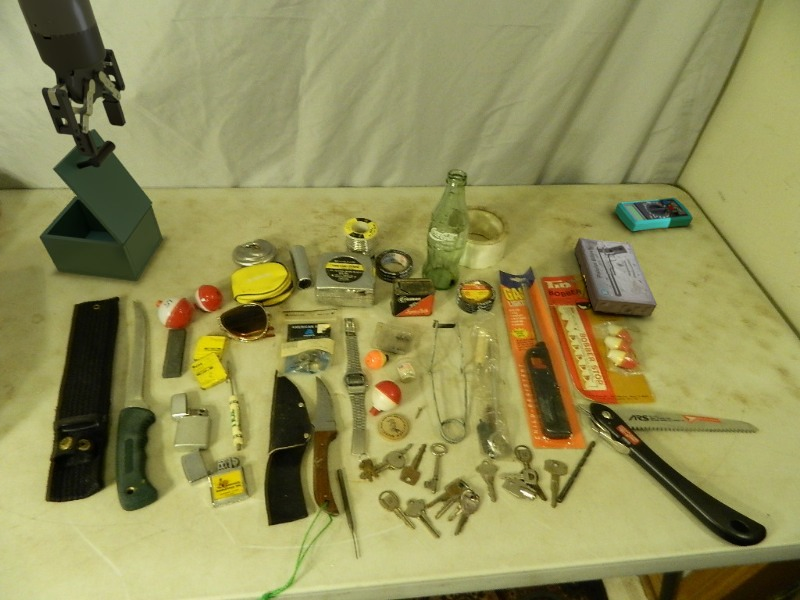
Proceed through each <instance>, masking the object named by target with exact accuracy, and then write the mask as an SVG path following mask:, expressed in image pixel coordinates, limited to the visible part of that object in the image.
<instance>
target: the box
mask: <svg viewBox="0 0 800 600" xmlns="http://www.w3.org/2000/svg"><path fill="white" fill-rule="evenodd" d="M574 247H575V248H574V252H575V255H576V259H577V260H578V261H577V262H578V264H579V266H580V271H581V272H580V273H581V276H582V275H585V279H586V284H587V288H586V290H587V294H588V298H589V300H590V304H591V306H592V308H593V310H592V311H597V312H602V313H605V314H607V313H611V314H615V315H618V314H619V315H627V316H630V315H631V316H639V317H646V318H649V317H651V316H652V314H653V312H654V311H655V309H656V308H657V305H658V304H657V301H656V298H655V296H654V294H653V292H652V290H651V287H650V285H649V283H648V281H647V277H646V275H645V273H644V271H643V269H642V266H641V264H640V262H639V259H638V257H637V255H636V252H635V250H634V248H633V245H632V243H631V242H621V241H612V240H601V239H600V240H599V239H593V238H584V237H579V238H578V239H577V241H576V244H575V246H574ZM586 284H585V285H586Z"/></svg>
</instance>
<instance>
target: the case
mask: <svg viewBox="0 0 800 600" xmlns="http://www.w3.org/2000/svg"><path fill="white" fill-rule="evenodd" d="M38 238H39V240H40V241H41V243H42V245H43V246H44V248H45V250H46V252H47V254H48V256H49V257H50V259H51V261H52V263H53V265H54V266H55V268H56V270H57V272H59V273H66V274H74V275H83V276H89V277H90V276H91V277H99V278H109V279H116V280H125V281H133V282H138V280H139V279H140V277H141V275H142V274H143V272H144V270H145V269H146V267H147V266H148V264H149V263H150V261H151V260H152V258H153V256H154V255H155V253H156V251H157V250H158V248H159V247H160V245H161V244H162V242H163V241H164V237H163V235H162V232H161V228H160V226H159V222H158V220H157V216H156V214H155V211H154V208H153V204H151V206H150V207H149V209H148V210H147V211H146V213H145V214H144V216H143V217H142V219H141V220H140V221H139V223H138V224H137V226H136V227H135V229H134V230H133V231H132V233H131V234H130V236H129V237H128V239H127V240H126V241H125V243H124V244H122V245H120V244H119V243H118V242H117V241H116V239H115V238H114V237H113V236H112V235H111V234H110V233H109V232H108V230H107V229H106V228H105V227H104V226H103V225H102V224H101V223H100V222H99V220H98V219H97V218H96V217H95V216H94V215H93V214H92V213H91V211H90V210H89V209H88V208H87V207H86V206H85V205H84V204H83V202H82V201H81V200H80V199H79V198H78V197H77V196H76V195H75V196H73V198H72V199H71V200H70V201H69V202H68V203H67V205H65V207H64V208H62V210H61V211H60V212H59V214H58V215H56V217H55V218H54V219H53V220H52V221H51V222H50V224H49V225H48V226H47V227H46V228H45V230H44V231H43V232H41V234H40V235H39V236H38Z"/></svg>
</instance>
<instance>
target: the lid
mask: <svg viewBox="0 0 800 600" xmlns="http://www.w3.org/2000/svg"><path fill="white" fill-rule="evenodd" d="M90 131H91V134H92V137H93V139H94V142H95V145H96V147H97V150H98V154H97V155H96V156H95V157H90V156H84V155H82V154H81V153H80V152H79V151H78V148H77V146H76V145H75V146H74V147H72V149H71V150H70V151H68V152H67V154H66V155H64V157H63V158H62V159H61V160H59V162H58V163H56V164H55V166H54V167H53V168H52V170H53V171H54V172H55V174H57V176H58V177H59V178H60V180H61V181H63V182H64V184H65V185H66V186H67V187H68V188H69V189H70V190H71V192H72V193H73V194H74V195H75V196H77V197H78V198H79V199H80V200H81V201H82V202H83V204H84V205H85V206H86V207H87V208H88V209H89V210H90V211H91V213H92V214H93V215H94V216H95V217H96V218H97V219H98V220H99V222H100V223H101V224H102V225H103V226H104V227H105V228H106V229H107V230H108V232H109V233H110V234H111V235H112V236H113V237H114V238H115V239H116V241H117V242H118V243H119V244H120V245H122V244H124V243H125V241H126V240H127V239H128V237H129V236H130V234H131V233H132V231H133V230H134V229H135V227H136V226H137V224H138V223H139V221H140V220H141V219H142V217H143V216H144V214H145V213H146V211H147V210H148V209H149V207H150V206H151V205H153V201H152V200H151V199H150V197H149V196H148V195H147V193H146V192H145V191H144V190H143V188H142V187H141V186H140V185H139V184H138V182H137V181H136V180H135V178H134V177H133V175H131V173H130V172H129V171H128V170H127V168H126V167H125V166H124V164H123V163H122V162H121V161H120V159H119V157H117V156H116V154H115V152H114V151H115V150H116V148H117V147H116V144H115V143H114V142H113V141H112V140H104V138H103V137H102V136H101V135H100V133H99V132H98V131H97V130H96V129H95V128H93V129H91V130H90Z"/></svg>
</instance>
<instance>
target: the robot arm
mask: <svg viewBox="0 0 800 600" xmlns="http://www.w3.org/2000/svg"><path fill="white" fill-rule="evenodd" d="M17 3H18V5H19V9H20V12H21V14H22V16H23V18H24V21H25V23H26V25H27V29H28V30H29V33H30V35H31V37H32V40H33V43H34V45H35V47H36V50H37V52H38V55H39V57H40V59H41V62H42V63H43V64H45V65H46V66H47V67H49V69H51V70H52V71H53V73H54V75H55V80H56V82H55V83H56V84H55V85H54V86H53V87H47V86H46V87H45V86H44V87H42V88H41V94H42V97H43V100H44V103H45V105H46V108H47V110H48V113H49V116H50V118H51V121H52V123H53V126H54V129H55V131H56V133H57V134H59V135H67V136H72V138H73V141H74V143H75V146H77V148H78V151H79V152H80V153H81V154H82V155H84V156H90V157H95V156H96V155H97V154H98V150H97V147H96V145H95V142H94V139H93V137H92V134H91V130H89V129H90V117H91V116H92V115H93V114H94V104H95V103H96V101H97V99H99V98H100V99H102V101H101V102H102V105H103V108H104V111H105V114H106V118H107V120H108V122H109V124H110V125H111V126H114V127H124V126H125V125H126V124H127V120H126V118H125V114H124V110H123V108H122V105H121V99H122V95H121V91H122V92H124V91H126V84H125V81H124V78H123V75H122V73H121V69H120V66H119V64H118V62H117V58H116V55H115V52H114V50H113V49H111V48H106V47H105V44H104V41H103V38H102V35H101V33H100V32H101V31H100V29H99V25H98V22H97V19H96V16H95V13H94V10H93V6H92V4H91V1H90V0H17ZM110 76H112V77H113V78H114V80H111V77H110ZM72 102H73V103H75V104H77V105H82V106H81V107H78V106H73V105H72ZM76 115H79V122H78V120H77V117H76ZM63 119H64V121H63Z"/></svg>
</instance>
